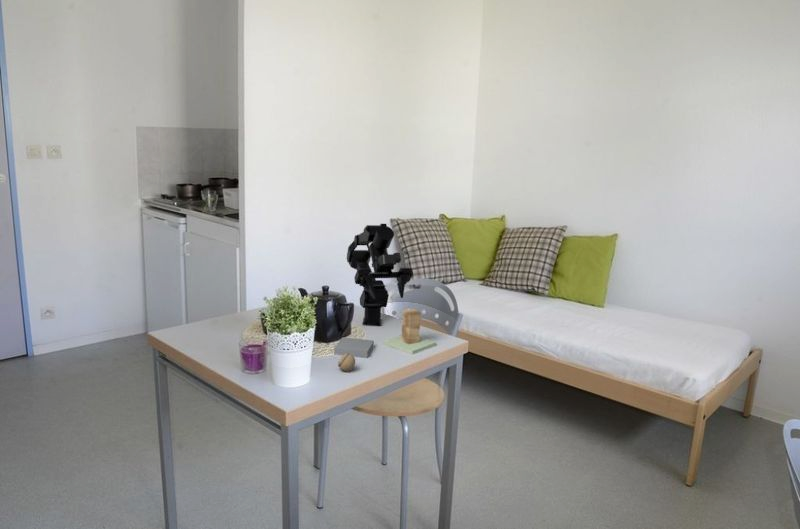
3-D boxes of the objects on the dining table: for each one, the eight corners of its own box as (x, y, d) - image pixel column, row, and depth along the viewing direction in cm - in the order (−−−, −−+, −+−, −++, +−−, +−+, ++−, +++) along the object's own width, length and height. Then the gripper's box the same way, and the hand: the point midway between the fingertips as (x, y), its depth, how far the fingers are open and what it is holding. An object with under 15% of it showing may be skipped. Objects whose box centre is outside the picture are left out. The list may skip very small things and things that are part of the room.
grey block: (342, 343, 191) (342, 337, 190) (373, 346, 189) (373, 340, 189) (334, 354, 181) (334, 347, 180) (367, 357, 180) (367, 351, 179)
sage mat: (383, 343, 192) (383, 340, 192) (407, 335, 201) (407, 332, 201) (412, 354, 185) (412, 351, 184) (436, 345, 194) (436, 342, 193)
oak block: (401, 340, 193) (403, 310, 191) (411, 338, 195) (413, 309, 193) (408, 344, 190) (410, 313, 188) (418, 342, 192) (420, 312, 190)
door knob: (350, 366, 173) (351, 349, 172) (357, 372, 168) (358, 355, 167) (334, 368, 170) (334, 351, 169) (341, 374, 166) (342, 357, 165)
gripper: (358, 243, 193) (366, 286, 185) (413, 243, 199) (423, 284, 191) (350, 262, 202) (358, 304, 194) (403, 261, 208) (413, 301, 200)
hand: (388, 298), depth 195 cm, fingers open, 9 cm apart
